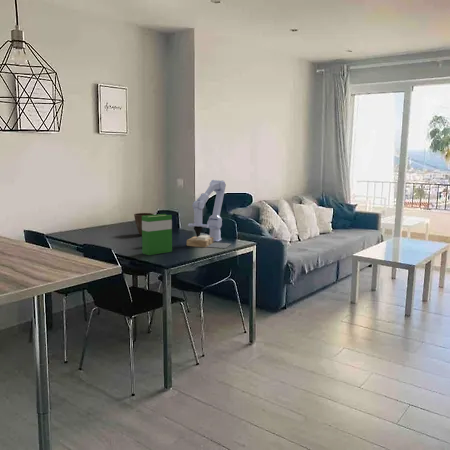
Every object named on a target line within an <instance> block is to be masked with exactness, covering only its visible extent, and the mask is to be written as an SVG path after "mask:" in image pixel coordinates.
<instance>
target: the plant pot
mask: <svg viewBox="0 0 450 450" xmlns="http://www.w3.org/2000/svg"><path fill="white" fill-rule="evenodd" d="M146 215H155V214H154V213H152V212H151V213H150V212H138V213H134V214H133V216H134V221H135V226H136V229H137V232H138V234H139V236H142V216H146Z"/></svg>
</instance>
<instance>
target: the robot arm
mask: <svg viewBox="0 0 450 450" xmlns="http://www.w3.org/2000/svg"><path fill="white" fill-rule="evenodd" d="M226 186H227V185H226V182H225V180H219V179H218V180H217V179H212V180H211V181H210V182H209V186H208V187H207V189H206V190H205V192H204V193H201V194H200V196H199V197H198V198H197V200H195V201H193V202H192V204H191V207H192V209H193V221H194V222H193V223H188V224H187V227H190V228H191V227H193V231H194V233H195V236H197V237H198V236H200V235H201V233H202V231H203V228H207V229H209V235H210V237H213V242H215V243H219V242H220V241H222V239H223V238H222V237H221V234H222V233H221V231H222V230H221V228H222V226H223V222H222V221H223V218H222V217H221V211H222V206H223V201H224V197H225V196H224V195H225V192H226V191H225V190H226ZM213 192H214V193H215V194H216V196H215V199H214V206H213V210H212V215H210V216H208V220H207V222H206V224H205V223H203V209H204V208H205V205H206V202H208V200H209V199H210V198H209V196H210V195H211V194H213Z"/></svg>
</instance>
